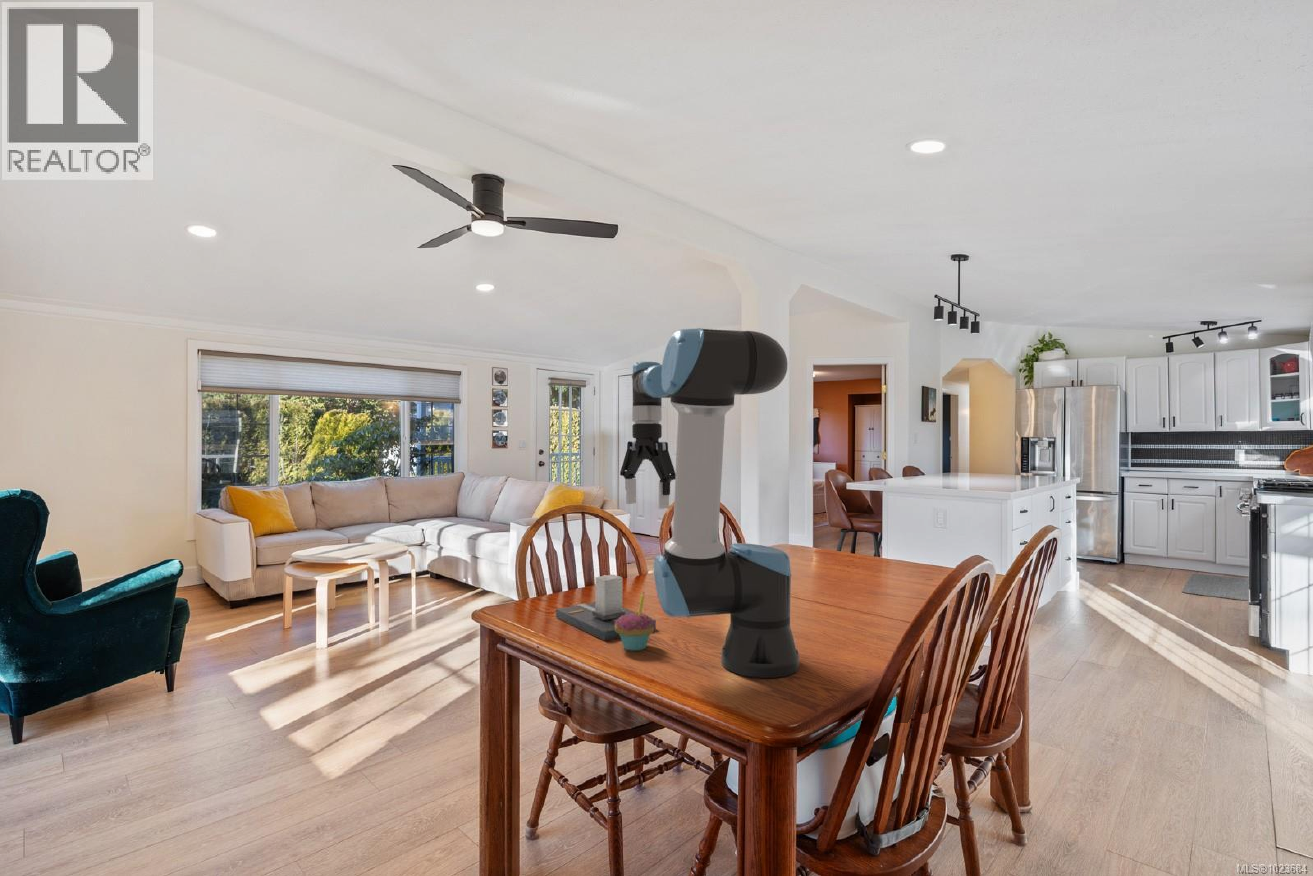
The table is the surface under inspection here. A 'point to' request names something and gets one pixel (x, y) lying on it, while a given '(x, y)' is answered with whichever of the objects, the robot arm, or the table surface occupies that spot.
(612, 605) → the block
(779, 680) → the table surface
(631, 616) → the cupcake
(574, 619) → the board
